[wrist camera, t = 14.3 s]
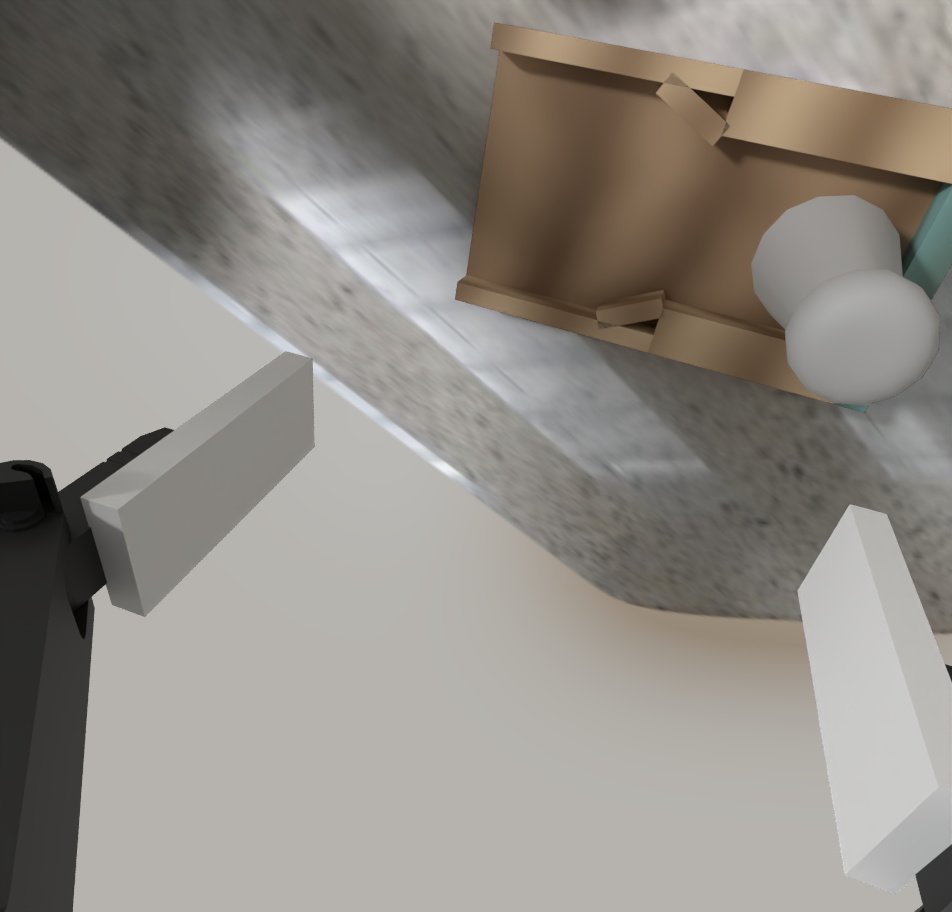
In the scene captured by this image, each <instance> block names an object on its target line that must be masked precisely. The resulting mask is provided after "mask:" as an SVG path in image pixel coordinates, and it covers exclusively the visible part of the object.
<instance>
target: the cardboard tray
mask: <svg viewBox="0 0 952 912" xmlns="http://www.w3.org/2000/svg"><path fill="white" fill-rule="evenodd" d="M490 49H494V50H499V51H500V52H499V59H498V65H497V72H496V79H495V86H494V92H493V99H492V106H491V113H490V119H489V126H488V133H487V140H486V146H485V153H484V160H483V167H482V173H481V180H480V187H479V194H478V200H477V207H476V214H475V221H474V227H473V234H472V241H471V248H470V254H469V261H468V268H467V274H466V276H465V277H463V278H462V279H461V280H460V281H459V282H457V289H456V297H455V300H459V301H462V302H466V303H470V304H473V305H477V306H480V307H484V308H488V309H491V310H495V311H498V312H502V313H506V314H509V315H513V316H517V317H520V318H524V319H527V320H531V321H535V322H538V323H542V324H546V325H549V326H553V327H556V328H560V329H564V330H567V331H571V332H574V333H578V334H582V335H585V336H589V337H593V338H596V339H600V340H603V341H607V342H611V343H614V344H618V345H622V346H625V347H629V348H632V349H636V350H640V351H643V352H647V353H650V354H654V355H658V356H661V357H665V358H669V359H672V360H676V361H679V362H683V363H687V364H690V365H694V366H698V367H701V368H705V369H708V370H712V371H716V372H719V373H723V374H726V375H730V376H734V377H737V378H741V379H745V380H748V381H752V382H755V383H759V384H763V385H766V386H770V387H774V388H777V389H781V390H784V391H788V392H792V393H795V394H799V395H802V396H806V397H810V398H813V399H817V400H821V401H824V402H828V403H831V404H835V405H839V406H842V407H846V408H850V409H853V410H857V411H860V412H864V413H865V411H866V409H867V407H868V406H869V404H867V405H853V404H841V403H832V402H830V401H828V400H826V399H824V398H822V397H820V396H818V395H816V394H814V393H812V392H810V391H807V389H806V388H805V387H804V386H803V385H802V383H801V382H800V380H799V379H798V377H797V376H796V374H795V373H794V371H793V370H792V369H791V367H790V366H789V364H788V360H787V349H786V338H785V329H784V328H783V327H782V326H781V325H780V324H779V323H778V322H777V321H776V320H775V319H774V318H773V317H772V316H771V315H770V314H769V313H768V311H767V310H766V308H765V307H764V305H763V304H762V302H761V301H760V299H759V298H758V297H757V295H756V294H755V292H754V285H753V276H752V267H751V263H752V261H753V258H754V256H755V253H756V251H757V248H758V246H759V244H760V241H761V239H762V236H763V235H764V233H765V232H766V231H767V230H768V229H769V228H770V227H771V226H772V225H773V224H774V223H775V222H776V221H777V220H778V219H779V217H780V216H781V215H782V214H783V213H784V212H785V211H786V210H788V209H790V208H792V207H795V206H797V205H800V204H802V203H804V202H807V201H809V200H812V199H814V198H816V197H821V196H845V195H855V196H857V197H859V198H861V199H863V200H865V201H867V202H869V203H871V204H873V205H875V206H877V207H879V208H881V209H883V210H884V212H885V214H886V215H887V217H888V218H889V220H890V221H891V223H892V224H893V226H894V227H895V229H896V230H897V232H898V233H899V237H900V249H901V262H902V274H903V277H904V278H906V279H908V280H910V281H912V282H914V283H916V284H917V285H919V286H920V287H921V288H923V290H924V291H925V293H926V294H927V296H928V297H929V299H930V300H931V299H932V297H933V295H934V294H935V292H936V290H937V289H938V287H939V285H940V284H941V282H942V280H943V278H944V277H945V275H946V273H947V272H948V270H949V268H950V267H951V265H952V109H951V108H945V107H940V106H935V105H929V104H924V103H919V102H914V101H908V100H903V99H898V98H892V97H887V96H882V95H876V94H871V93H866V92H861V91H855V90H850V89H845V88H839V87H834V86H829V85H823V84H818V83H813V82H807V81H802V80H797V79H792V78H786V77H781V76H776V75H770V74H765V73H760V72H754V71H749V70H744V69H739V68H733V67H728V66H723V65H717V64H712V63H707V62H701V61H696V60H691V59H686V58H680V57H675V56H670V55H664V54H659V53H654V52H648V51H643V50H638V49H633V48H627V47H622V46H617V45H611V44H606V43H601V42H595V41H590V40H585V39H580V38H574V37H569V36H564V35H558V34H553V33H548V32H542V31H537V30H532V29H527V28H521V27H516V26H511V25H505V24H500V23H495V22H494V27H493V34H492V41H491V48H490Z"/></svg>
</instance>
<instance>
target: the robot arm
mask: <svg viewBox="0 0 952 912" xmlns="http://www.w3.org/2000/svg"><path fill="white" fill-rule="evenodd" d="M313 408H314V405H313V359H312V358H308V357H305V356H301V355H297V354H294V353H290V352H284V353H283V354H281V355H280V356H279V357H277V358H276V359H274V360H273V361H272V362H270V363H269V364H267V365H266V366H264V367H263V368H262V369H260V370H259V371H257V372H256V373H255V374H253V375H252V376H250V377H249V378H248V379H246V380H245V381H243V382H242V383H240V384H239V385H238V386H236V387H235V388H234V389H232V390H231V391H229V392H228V393H226V394H225V395H224V396H222V397H221V398H220V399H218V400H217V401H215V402H214V403H212V404H211V405H210V406H208V407H207V408H205V409H204V410H202V411H201V412H200V413H198V414H197V415H195V416H194V417H193V418H191V419H190V420H188V421H187V422H185V423H184V424H183V425H181V426H180V427H179V428H177V429H176V430H172V429H169V428H162V429H159V430H157V431H154V432H151V433H149V434H145V435H143V436H140V437H139V438H137V439H136V440H135V441H133V442H131V443H130V444H129V445H127V446H126V447H124V448H123V449H122V451H121V452H117V453H115V454H114V455H112V456H111V457H109V458H108V459H107V461H106V462H102V463H100V464H99V465H97V466H96V467H95V468H93V469H92V470H90V471H89V472H87V473H86V474H84V475H83V476H81V477H80V478H78V479H77V480H75V481H74V482H72V483H71V484H69V485H68V486H67V487H65V488H64V489H62V490H61V491H59V492H58V491H57V488H56V485H55V481H54V478H53V475H52V472H51V469H50V468H48V467H47V466H46V465H44V464H43V463H39V462H35V461H31V460H15V461H14V460H13V461H8V462H3V463H0V912H73V898H74V885H75V871H76V856H77V843H78V829H79V816H80V802H81V787H82V775H83V760H84V745H85V733H86V719H87V706H88V692H89V677H90V663H91V650H92V636H93V623H94V605H93V600H92V596H93V595H94V594H95V593H96V592H97V591H98V590H99V589H101V588H102V587H103V586H104V585H105V584H106V586H107V590H108V593H109V596H110V600H111V603H112V605H114V606H117V607H119V608H122V609H125V610H128V611H130V612H133V613H136V614H138V615H141V616H144V617H145V616H146V615H147V614H148V613H149V612H150V611H151V610H152V609H153V608H154V607H155V606H156V605H157V604H158V603H159V602H160V601H161V600H162V599H163V598H164V597H165V596H166V595H167V594H168V593H169V592H170V591H171V590H172V589H173V588H174V587H175V586H176V585H177V584H178V583H179V582H180V581H181V580H182V579H183V578H184V577H185V576H186V575H187V574H188V573H189V572H190V571H191V570H192V569H193V568H194V567H195V566H196V565H197V564H198V563H199V562H200V561H201V560H202V559H203V558H204V557H205V556H206V555H207V554H208V553H209V552H210V551H211V550H212V549H213V548H214V547H215V546H216V545H217V544H218V543H219V542H220V541H221V540H222V539H223V538H224V537H225V536H226V535H227V534H228V533H229V532H230V531H231V530H232V529H233V528H234V527H235V526H236V525H237V524H238V523H239V522H240V521H241V520H242V519H243V518H244V517H245V516H246V515H247V514H248V513H249V512H250V511H251V510H252V509H253V508H254V507H255V506H256V505H257V504H258V503H259V502H260V501H261V500H262V499H263V498H264V497H265V496H266V495H267V494H268V493H269V492H270V491H271V490H272V489H273V488H274V487H275V486H276V485H277V484H278V483H279V482H280V481H281V480H282V479H283V478H284V477H285V476H286V475H287V474H288V473H289V472H290V471H291V470H292V469H293V468H294V467H295V466H296V465H297V464H298V463H299V462H300V461H301V460H302V459H303V458H304V457H305V456H306V455H307V454H308V453H309V452H310V451H311V450H312V449H313V448H314V409H313ZM798 597H799V603H800V609H801V615H802V621H803V627H804V633H805V638H806V644H807V651H808V657H809V663H810V669H811V675H812V681H813V687H814V693H815V699H816V705H817V711H818V717H819V723H820V729H821V735H822V741H823V747H824V753H825V759H826V765H827V771H828V777H829V783H830V789H831V795H832V801H833V807H834V813H835V819H836V825H837V832H838V838H839V844H840V850H841V855H842V862H843V868H844V874H845V876H848V877H850V878H853V879H856V880H859V881H861V882H864V883H866V884H869V885H872V886H875V887H877V888H880V889H883V890H886V891H888V892H891V893H894V894H897V893H898V892H899V891H900V890H901V889H903V888H904V887H905V886H906V885H907V884H909V883H910V882H911V881H912V880H913V879H915V878H916V879H917V883H918V887H919V891H920V895H921V899H922V902H923V905H922V906H921V907H920V908H919V909H917V910H916V911H915V912H952V666H949V665H946V664H944V661H943V658H942V656H941V653H940V651H939V648H938V645H937V643H936V640H935V638H934V635H933V632H932V630H931V627H930V625H929V622H928V619H927V617H926V614H925V612H924V609H923V607H922V604H921V601H920V599H919V596H918V594H917V591H916V588H915V586H914V583H913V581H912V578H911V576H910V573H909V570H908V568H907V565H906V563H905V560H904V557H903V555H902V552H901V550H900V547H899V545H898V542H897V539H896V537H895V534H894V532H893V529H892V526H891V524H890V521H889V519H888V516H887V514H884V513H881V512H877V511H873V510H870V509H866V508H862V507H859V506H855V505H851V504H850V505H849V506H848V508H847V510H846V511H845V513H844V515H843V516H842V518H841V520H840V521H839V523H838V525H837V526H836V528H835V530H834V531H833V533H832V534H831V536H830V538H829V539H828V541H827V543H826V544H825V546H824V548H823V549H822V551H821V553H820V554H819V556H818V558H817V559H816V561H815V563H814V564H813V566H812V568H811V569H810V571H809V572H808V574H807V576H806V577H805V579H804V581H803V582H802V584H801V586H800V587H799V589H798Z"/></svg>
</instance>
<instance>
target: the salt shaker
mask: <svg viewBox="0 0 952 912" xmlns="http://www.w3.org/2000/svg"><path fill="white" fill-rule="evenodd" d="M751 267H752V276H753V285H754V292H755V294H756V295H757V297H758V298H759V299H760V301H761V302H762V304H763V305H764V307H765V308H766V310H767V311H768V313H769V314H770V315H771V316H772V317H773V318H774V319H775V320H776V321H777V322H778V323H779V324H780V325H781V326H782V327H783V328H784V329H785V338H786V349H787V360H788V364H789V366H790V367H791V369H792V370H793V371H794V373H795V374H796V376H797V377H798V379H799V380H800V382H801V383H802V385H803V386H804V387H805V388H806V389H807V391H810V392H812V393H814V394H816V395H818V396H820V397H822V398H824V399H826V400H828V401H830V402H832V403H841V404H853V405H867V404H870V403H873V402H877V401H880V400H884V399H887V398H890V397H894V396H896V395H898V394H899V393H901V392H902V391H904V390H905V389H906V388H908V387H909V386H911V385H912V384H914V383H915V382H916V381H918V380H919V379H921V378H922V377H923V376H924V374H925V373H926V371H927V369H928V368H929V366H930V364H931V363H932V361H933V359H934V358H935V356H936V354H937V352H938V351H939V338H940V317H939V313H938V311H937V310H936V308H935V307H934V305H933V304H932V302H931V301H930V299H929V297H928V296H927V294H926V293H925V291H924V290H923V288H921V287H920V286H919V285H917V284H916V283H914V282H912V281H910V280H908V279H906V278H904V277H903V274H902V262H901V249H900V237H899V233H898V232H897V230H896V229H895V227H894V226H893V224H892V223H891V221H890V220H889V218H888V217H887V215H886V214H885V212H884V210H883V209H881V208H879V207H877V206H875V205H873V204H871V203H869V202H867V201H865V200H863V199H861V198H859V197H857V196H855V195H845V196H821V197H816V198H814V199H812V200H809V201H807V202H804V203H802V204H800V205H797V206H795V207H792V208H790V209H788V210H786V211H785V212H784V213H783V214H782V215H781V216H780V217H779V219H778V220H777V221H776V222H775V223H774V224H773V225H772V226H771V227H770V228H769V229H768V230H767V231H766V232H765V233H764V235H763V236H762V239H761V241H760V244H759V246H758V248H757V251H756V253H755V256H754V258H753V261H752V263H751Z"/></svg>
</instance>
